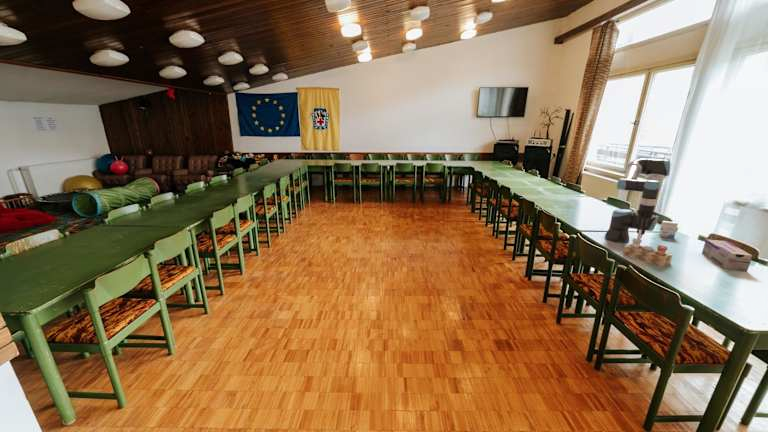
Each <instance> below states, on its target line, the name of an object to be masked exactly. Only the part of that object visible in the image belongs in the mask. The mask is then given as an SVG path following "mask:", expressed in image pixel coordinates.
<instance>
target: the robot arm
mask: <svg viewBox="0 0 768 432" xmlns="http://www.w3.org/2000/svg"><path fill="white" fill-rule="evenodd" d="M670 170H671V161H670V160H669V159H663V158H645V157H644V158H637V159H634V160H633V161H631V162H629V163H628V164H626V167H625V174H624V176H623V178H618V181H617V184H616V189H617V190H622V191H629V192H630V191H631V192H641V198H640V204H639V205H638V206H639V207H638V209H637V210H636V212H634V211H633V210H632V209H627V208H620V209H619V208H618V209H614V210H613V211H612V213H611V220H610V223H609V228H608V230H607V231H606V233H605V235H604V238H605V239H606V240H608V241H611V242H615V243H628V242H629V241H630V233H629V229H635V230H636V234H637V237H636V239H640V240H642V238H643V235H645V233H646V232H653V231H654V230H655V227H656V225H657V223H658V221H659V218H660V216H659V215H658V212H657V211H656V208H657V204H658V199H659V195H660V191H661V187H662V183H663V180H665V179H666V178H667V177H669V176H670ZM639 175H645V178H646V180H642V179H638V177H639Z"/></svg>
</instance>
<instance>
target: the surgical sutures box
mask: <svg viewBox="0 0 768 432" xmlns="http://www.w3.org/2000/svg"><path fill="white" fill-rule="evenodd" d="M701 254H702V255H703V256H704V255H705V256H704V257H706V258H707V259H708V258H709V259H708V260H710V261H711V260H712V261H711V262H712V263H714V264H715V263H716V264H715V265H717V266H718V265H719V266H718V267H720V268H721V269H722V270H728V271H736V272H744V273H747V272H748V270H749V267H750V264H751V261H752V259H753V255H752V254H751V253H748V252H747V251H746V250H743V249H741V248H740V247H738V246H736V245H734V244H733V243H731V242H730V241H727V240H718V239H705V242H704V245H703V248H702V252H701Z"/></svg>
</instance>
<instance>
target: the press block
mask: <svg viewBox="0 0 768 432" xmlns="http://www.w3.org/2000/svg"><path fill="white" fill-rule="evenodd" d="M632 244H633V242H632V243H630V244H627V245H624V249H623V252H622V255H624V256H628V257H631V258H633V257H634V259H636V258H637V260H640V261H644V262H646V261H647V262H646V263H650V264H652V263H653V264H652V265H655V264H656V266H658V265H659V267H661V266H662V267H664V266H667V265H669V264H671V262H672V258H673V254H671V253H668V252H665V256H661V255H658V254H657V251H658V249H654V248H653V251H651V252H648V251H644V246H645V245H640V246H639V248H638V249H637V248H634V247H632ZM662 267H661V268H662Z"/></svg>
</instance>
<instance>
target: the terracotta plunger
mask: <svg viewBox="0 0 768 432" xmlns="http://www.w3.org/2000/svg"><path fill="white" fill-rule="evenodd" d="M657 250H658V251H657V254H658V255H661V256H665V253H667V252H666V251H668V247H667V246H666V245H657Z"/></svg>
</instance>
